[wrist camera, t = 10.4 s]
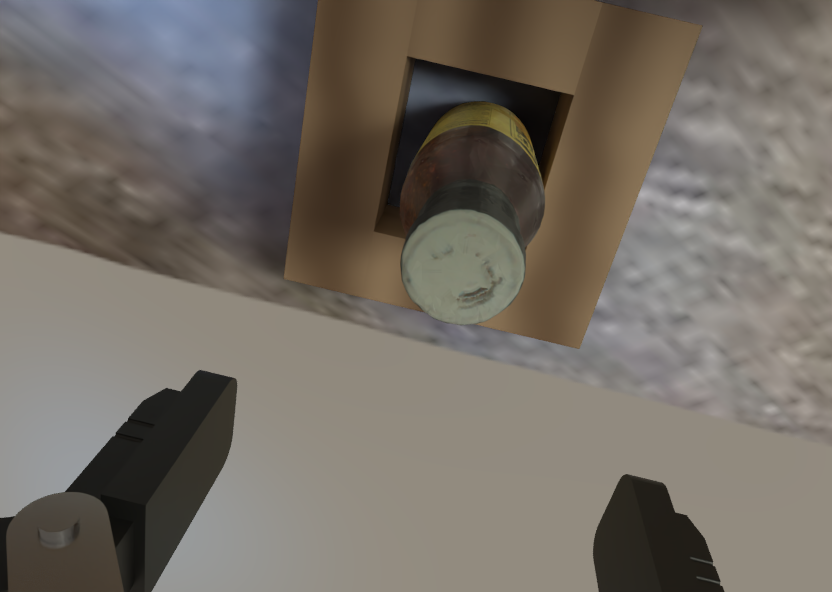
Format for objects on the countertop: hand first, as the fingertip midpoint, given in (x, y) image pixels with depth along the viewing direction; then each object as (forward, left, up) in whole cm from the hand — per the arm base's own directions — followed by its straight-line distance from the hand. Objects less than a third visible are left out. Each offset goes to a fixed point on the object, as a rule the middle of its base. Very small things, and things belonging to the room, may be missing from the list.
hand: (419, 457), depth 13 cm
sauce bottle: (-1, 0, -28) cm, 28 cm away
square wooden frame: (0, 0, -28) cm, 28 cm away
